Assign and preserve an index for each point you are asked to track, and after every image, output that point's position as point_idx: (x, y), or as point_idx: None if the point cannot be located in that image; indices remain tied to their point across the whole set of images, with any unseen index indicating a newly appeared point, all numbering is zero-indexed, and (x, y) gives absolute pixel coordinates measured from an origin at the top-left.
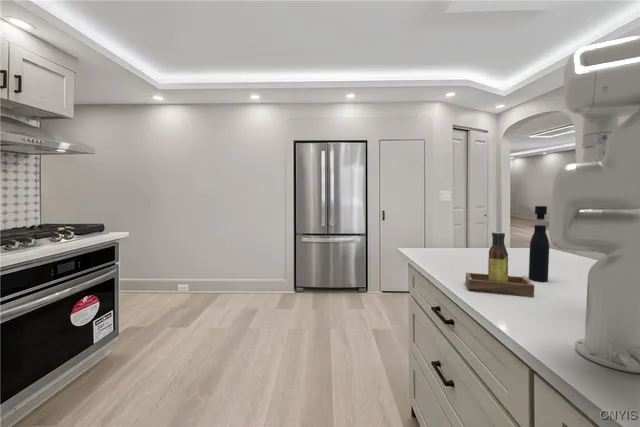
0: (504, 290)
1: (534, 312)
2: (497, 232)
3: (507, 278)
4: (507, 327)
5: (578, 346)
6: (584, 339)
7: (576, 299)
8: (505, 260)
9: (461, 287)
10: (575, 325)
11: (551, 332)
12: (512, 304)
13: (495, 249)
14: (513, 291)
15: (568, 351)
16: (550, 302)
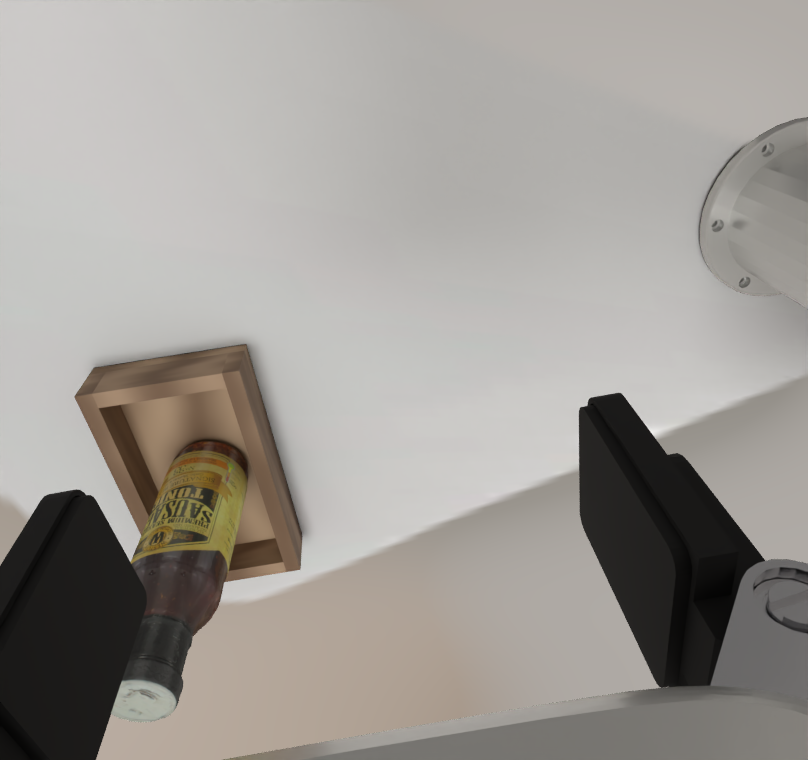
0: (272, 447)
1: (460, 356)
2: (128, 706)
3: (210, 466)
4: None
5: (772, 292)
6: (719, 267)
7: (160, 177)
8: (209, 539)
9: None
10: (548, 252)
11: (638, 328)
12: (398, 414)
13: (208, 618)
14: (264, 419)
15: (763, 307)
16: (290, 292)
